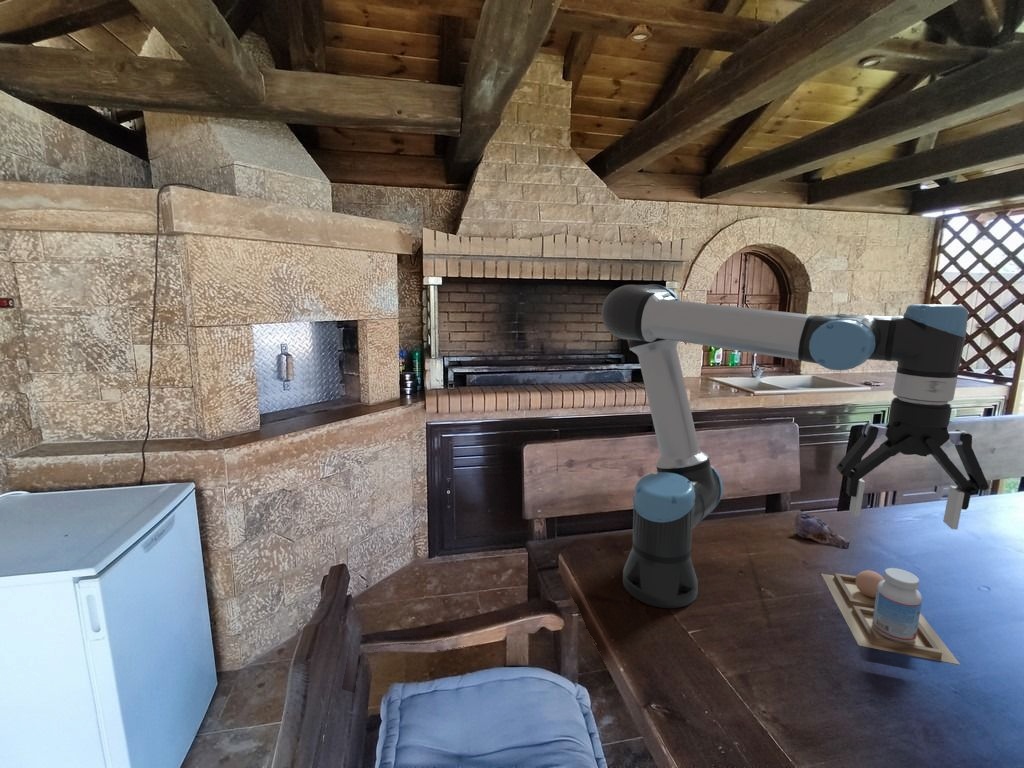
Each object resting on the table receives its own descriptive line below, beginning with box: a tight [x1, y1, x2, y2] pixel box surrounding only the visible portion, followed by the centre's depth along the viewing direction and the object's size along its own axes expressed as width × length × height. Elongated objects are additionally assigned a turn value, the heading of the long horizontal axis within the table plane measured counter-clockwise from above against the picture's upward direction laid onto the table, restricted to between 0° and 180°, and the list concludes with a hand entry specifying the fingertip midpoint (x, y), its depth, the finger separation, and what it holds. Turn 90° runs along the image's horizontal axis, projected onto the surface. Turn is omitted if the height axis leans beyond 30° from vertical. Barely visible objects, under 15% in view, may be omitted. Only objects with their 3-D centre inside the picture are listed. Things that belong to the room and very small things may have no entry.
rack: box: [820, 572, 961, 666], centre depth 88 cm, size 14×22×2 cm, turn 161°
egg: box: [855, 569, 885, 598], centre depth 93 cm, size 5×5×5 cm
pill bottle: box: [872, 567, 923, 643], centre depth 82 cm, size 6×6×11 cm
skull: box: [792, 512, 851, 549], centre depth 115 cm, size 12×8×6 cm, turn 31°
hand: (900, 519), depth 81 cm, fingers open, 13 cm apart
